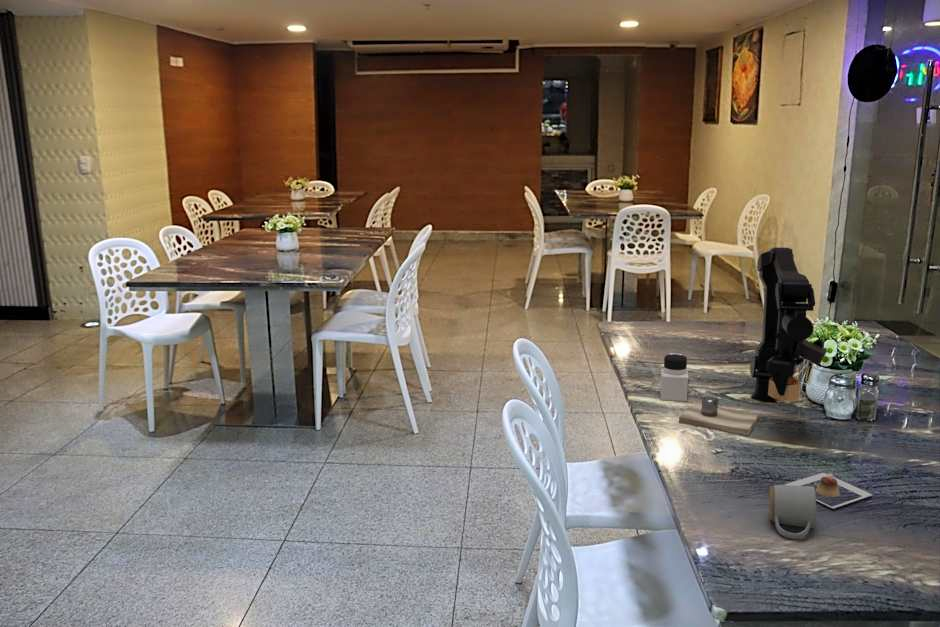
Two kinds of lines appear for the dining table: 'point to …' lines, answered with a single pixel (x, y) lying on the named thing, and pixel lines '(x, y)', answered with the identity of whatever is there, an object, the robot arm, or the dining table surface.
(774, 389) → the ring
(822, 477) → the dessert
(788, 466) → the dining table surface
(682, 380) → the medicine bottle
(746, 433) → the piston stand
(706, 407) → the piston
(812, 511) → the ceramic mug
